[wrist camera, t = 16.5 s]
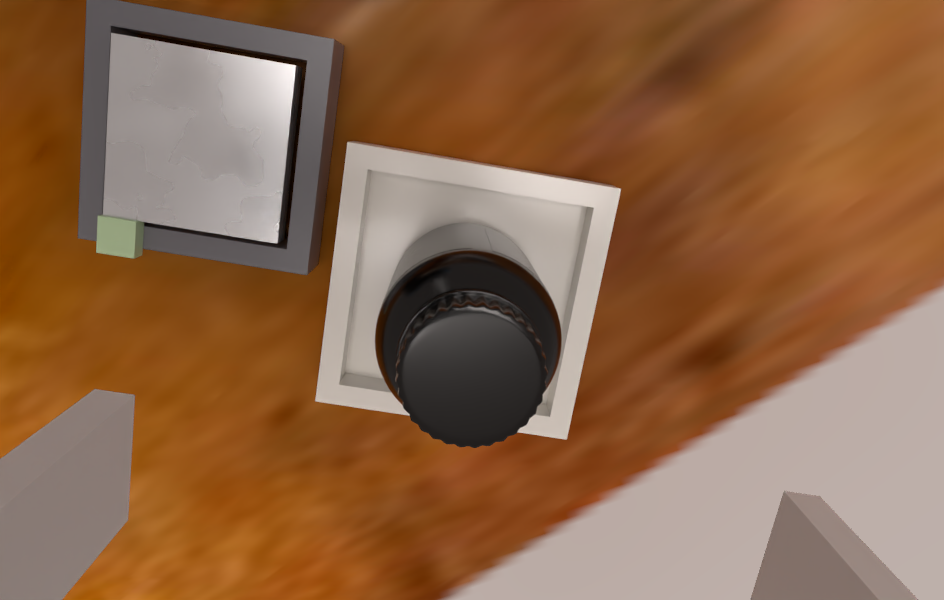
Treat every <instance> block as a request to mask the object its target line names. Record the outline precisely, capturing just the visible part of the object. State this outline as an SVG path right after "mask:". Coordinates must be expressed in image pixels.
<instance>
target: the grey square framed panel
mask: <svg viewBox="0 0 944 600" xmlns="http://www.w3.org/2000/svg"><path fill="white" fill-rule="evenodd" d="M111 33H115V34H121V35H127V36H132V37H138V33H139V34H145V35H150V36H156V37H162V38H167V39H173V40H179V41H184V42H190V43H196V44H201V45H207V46H213V47H218V48H224V49H230V50H235V51H241V52H247V53H252V54H258V55H264V56H269V57H275V58H280V59H286V60H292V61H297V62H303V63H307V67H306V76H305V85H304V95H303V104H302V113H301V122H300V132H299V141H298V150H297V159H296V169H295V178H294V187H293V196H292V206H291V215H290V224H289V233H288V239H287V238H284V240H282V241H281V242H279V243H278V244H276V243H270V242H264V241H257V240H251V239H245V238H239V237H233V236H227V235H221V234H215V233H208V232H202V231H196V230H190V229H184V228H178V227H172V226H166V225H159V224H153V223H147V222H141V221H135V220H129V219H123V218H117V217H110V216H104V215H103V202H104V180H105V158H106V135H107V113H108V91H109V69H110V47H111ZM343 53H344V45H342V44H341V43H339V42H338V41H336V40H335V39H330V38H324V37H319V36H313V35H308V34H302V33H297V32H291V31H285V30H280V29H274V28H269V27H263V26H257V25H252V24H246V23H241V22H235V21H229V20H224V19H218V18H213V17H207V16H202V15H196V14H190V13H185V12H179V11H174V10H168V9H162V8H157V7H151V6H146V5H140V4H134V3H129V2H123V1H118V0H87V3H86V30H85V57H84V84H83V111H82V138H81V165H80V192H79V219H78V238H80V239H86V240H92V241H97V244H96V253H102V254H108V255H115V256H121V257H127V258H133V259H134V258H137V257H139V256H142V252H143V249H148V250H154V251H160V252H167V253H173V254H179V255H185V256H191V257H198V258H204V259H210V260H216V261H222V262H229V263H235V264H241V265H247V266H253V267H260V268H266V269H272V270H278V271H284V272H290V273H297V274H303V275H308V274H309V273H310V272H311V271H312V270H313V269H314V268H315V267H316V266H317V265H318V262H319V254H320V246H321V237H322V229H323V220H324V212H325V204H326V195H327V187H328V179H329V170H330V162H331V153H332V145H333V137H334V128H335V120H336V112H337V103H338V95H339V87H340V78H341V70H342V61H343Z"/></svg>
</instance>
